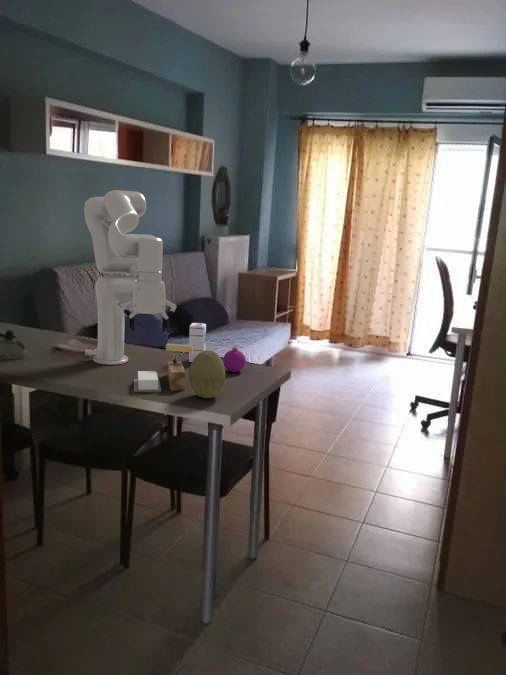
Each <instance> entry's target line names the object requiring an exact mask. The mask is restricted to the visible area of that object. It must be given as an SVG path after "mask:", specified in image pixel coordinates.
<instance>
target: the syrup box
mask: <svg viewBox="0 0 506 675" xmlns="http://www.w3.org/2000/svg"><path fill="white" fill-rule="evenodd" d="M188 337H189V340H188V343H189V344H188V345H191V346H193V352H192V353H189V352H188V363H189V362H192V361H193V360H194V358H195V357H196V356H197V355H198V354H199V353H200V352H202V351H206V344H207V343H206V341H207V323H203V322H191V324H190V325H189V336H188Z"/></svg>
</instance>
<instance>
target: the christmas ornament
mask: <svg viewBox="0 0 506 675" xmlns="http://www.w3.org/2000/svg"><path fill="white" fill-rule="evenodd" d="M238 349H239V348H238V347H237V346H232V349H231V350H228V351H226V353H225V354H224V355H223V358H222V361H223V364H224V368H225V369H226V370H228V371H229V372H231V373H237V372H238V373H239V371H241V370H243V369H244V368H245V365H246V356H245V354H244V353H243V352H242V351H241V350H238Z"/></svg>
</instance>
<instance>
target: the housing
mask: <svg viewBox="0 0 506 675" xmlns="http://www.w3.org/2000/svg"><path fill="white" fill-rule="evenodd" d="M167 379H168V384H169V389H171V390H170V391H185V385H186V384H185V383H186V382H185V381H186V371H185V367H184V365H183V363H182V361H181V360H180V361H178V360H177V363H173V360H170V361H167Z"/></svg>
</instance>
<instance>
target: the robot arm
mask: <svg viewBox="0 0 506 675" xmlns="http://www.w3.org/2000/svg"><path fill="white" fill-rule="evenodd" d="M146 211H147V201H146V198H145V196H144V195H143V194H142V193H141V192H139V191H135V190H134V191H132V190H121V189H120V190H119V189H116V190H110V191H108V192H106V194H105V195H104V196H94V197H90V198H88V199H87V200H85V203H84V207H83V212H84V213H83V214H84V220H85V223H86V226H87V229H88V231H89V233H90V236H91V239H92V246H93V253H94V259H95V260H94V261H95V264H96V265H95V266H96V269H97V270H98V272H100V273H103V274H125V275H105V276H104V275H103V276H101V277H99V278H98V279H97V280H96V281H95V284H94V287H95V288H94V290H95V296H96V303H97V347H96V348H94V349H85V350H84V351H85V352H84V353H85V354H84V355H87V356H89V357H90V356H93V359H92V360H93V362H94V363H96V364H101V365H108V366H109V365H122V364H125V363H127V362H128V361H129V357H128V356H127V355H125V320H126V319H125V318H126V317H125V315H126V316H127V317H128V318H129V329H130V328H131V332H134V331H135V315H137V314H144V315H146V314H147V315H154V314H155V315H161V316H162V318H161V320H162V324H161V325H162V326H161V327H162V328H161V330H162V332H164V333H165V332H166V329H168V319H169V318H170V317H171V316H173V315H174V312H175V311H176V309H177V306H178V305H176V304H175V303H173V302H171V301H170V300H167V299H166V286H165V282H164V281H163V254H164V253H163V251H164V249H163V248H164V247H163V246H164V243H163V242H164V241H163V240H162V238H160V237H157V236H155V235H152V234H138V233H131V232H132V231H134V230H135V229H136V228H137V227H138V226H139V222H140V218H141V217H142V216H144V214H146ZM106 222H111V223H110V225H108V223H106ZM121 302H122V303H121ZM119 303H120V305H119ZM131 304H132V305H131ZM130 305H131V306H132V311H130V310H129V309H128V307H127V306H130ZM166 306H168V307H170V309H169V311H168V312H166Z"/></svg>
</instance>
